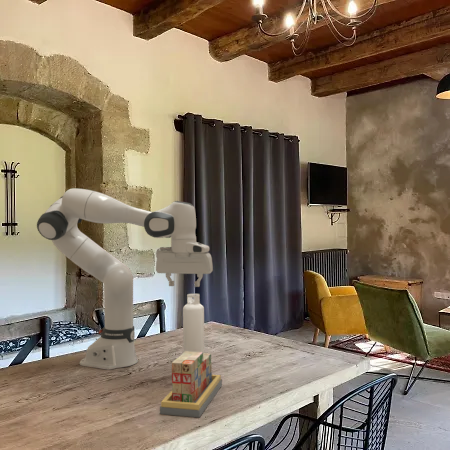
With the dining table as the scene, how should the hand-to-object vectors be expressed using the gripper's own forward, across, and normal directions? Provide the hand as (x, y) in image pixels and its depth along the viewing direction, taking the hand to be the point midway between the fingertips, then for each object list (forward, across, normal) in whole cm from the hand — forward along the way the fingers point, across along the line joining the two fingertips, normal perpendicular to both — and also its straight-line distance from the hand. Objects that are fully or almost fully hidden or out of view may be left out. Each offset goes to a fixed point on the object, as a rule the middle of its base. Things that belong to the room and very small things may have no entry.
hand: (184, 286), depth 165 cm
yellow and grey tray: (+33, +8, -16) cm, 38 cm away
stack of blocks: (+31, +8, -15) cm, 36 cm away
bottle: (+33, -1, +14) cm, 36 cm away
